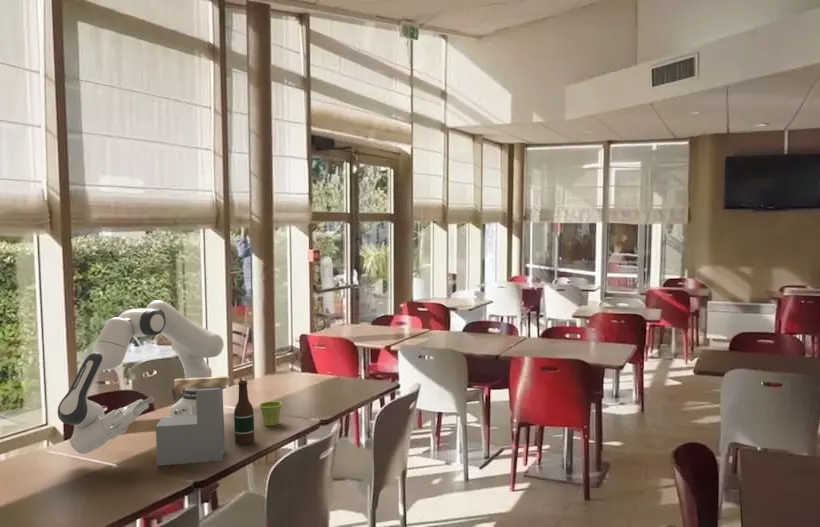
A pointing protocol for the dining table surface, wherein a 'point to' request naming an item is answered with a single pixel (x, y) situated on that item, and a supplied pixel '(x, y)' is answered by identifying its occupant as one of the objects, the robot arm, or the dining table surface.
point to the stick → (201, 382)
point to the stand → (194, 432)
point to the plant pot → (270, 412)
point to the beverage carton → (177, 394)
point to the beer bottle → (243, 417)
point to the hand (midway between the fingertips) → (150, 401)
